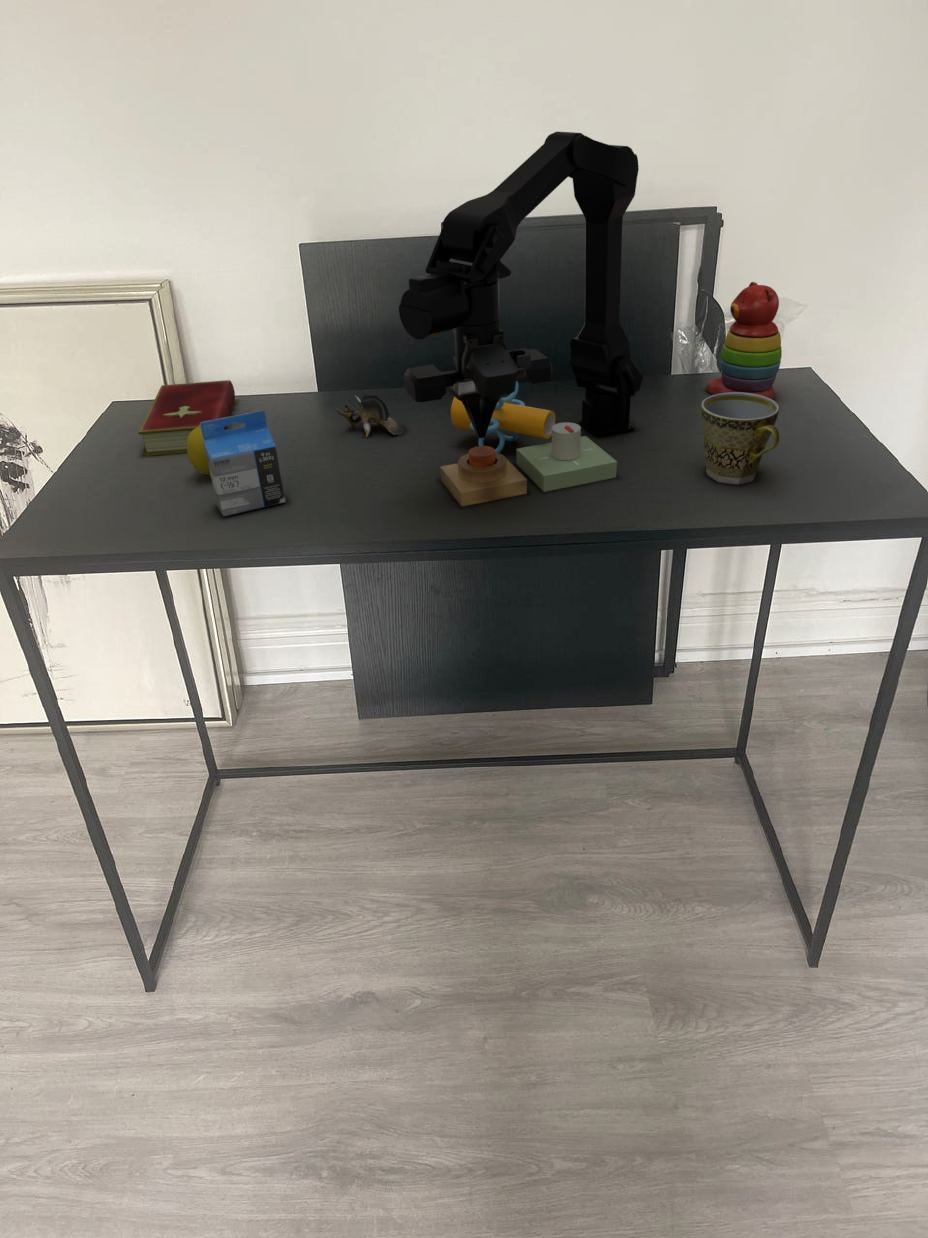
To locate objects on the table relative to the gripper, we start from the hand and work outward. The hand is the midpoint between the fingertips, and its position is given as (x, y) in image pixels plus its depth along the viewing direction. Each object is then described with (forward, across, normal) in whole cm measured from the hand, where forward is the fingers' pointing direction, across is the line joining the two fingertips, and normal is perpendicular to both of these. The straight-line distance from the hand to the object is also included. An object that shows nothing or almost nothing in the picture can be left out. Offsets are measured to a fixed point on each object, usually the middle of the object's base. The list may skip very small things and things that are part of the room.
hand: (480, 436), depth 122 cm
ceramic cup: (+8, +33, -12) cm, 36 cm away
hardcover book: (+8, -36, +41) cm, 55 cm away
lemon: (+8, -35, +20) cm, 41 cm away
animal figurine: (+8, -9, +26) cm, 29 cm away
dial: (+5, +13, 0) cm, 13 cm away
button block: (+8, 0, 0) cm, 8 cm away
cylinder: (+2, +2, +17) cm, 17 cm away
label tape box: (+8, -31, +8) cm, 33 cm away
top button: (+4, 0, 0) cm, 4 cm away
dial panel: (+7, +13, 0) cm, 15 cm away
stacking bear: (+8, +51, +14) cm, 54 cm away
